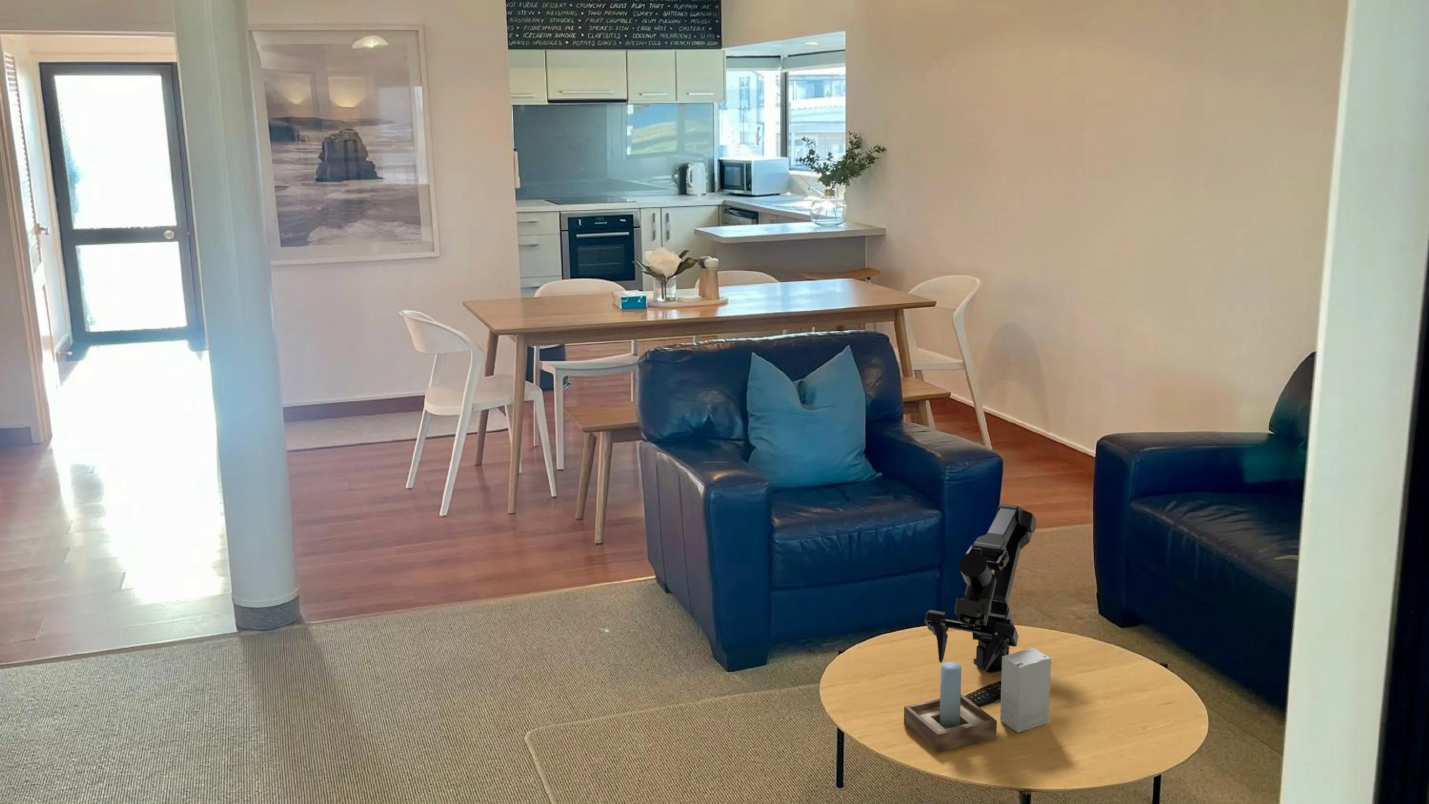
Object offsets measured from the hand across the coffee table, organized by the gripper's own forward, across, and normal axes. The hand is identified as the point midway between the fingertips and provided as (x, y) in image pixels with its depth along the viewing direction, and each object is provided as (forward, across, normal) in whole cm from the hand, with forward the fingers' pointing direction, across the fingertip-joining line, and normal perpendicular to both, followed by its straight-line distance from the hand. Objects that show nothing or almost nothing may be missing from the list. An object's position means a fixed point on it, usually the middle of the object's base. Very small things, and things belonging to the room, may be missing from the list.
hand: (962, 666), depth 242 cm
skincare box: (+7, +13, +8) cm, 17 cm away
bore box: (+13, 0, +2) cm, 13 cm away
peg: (+13, 0, +2) cm, 13 cm away
